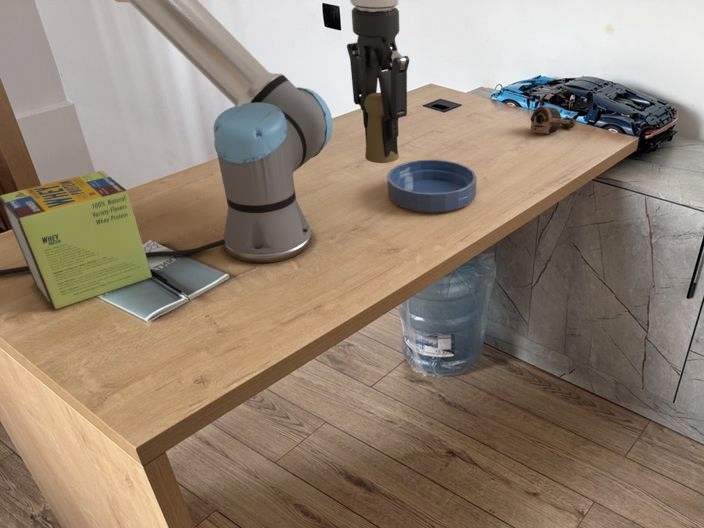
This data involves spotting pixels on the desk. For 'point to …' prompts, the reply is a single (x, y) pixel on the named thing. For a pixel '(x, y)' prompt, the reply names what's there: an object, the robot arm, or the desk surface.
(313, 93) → the robot arm
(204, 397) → the desk surface
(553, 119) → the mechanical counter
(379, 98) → the olive peg doll
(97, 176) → the protein box
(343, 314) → the desk surface
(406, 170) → the bowl
